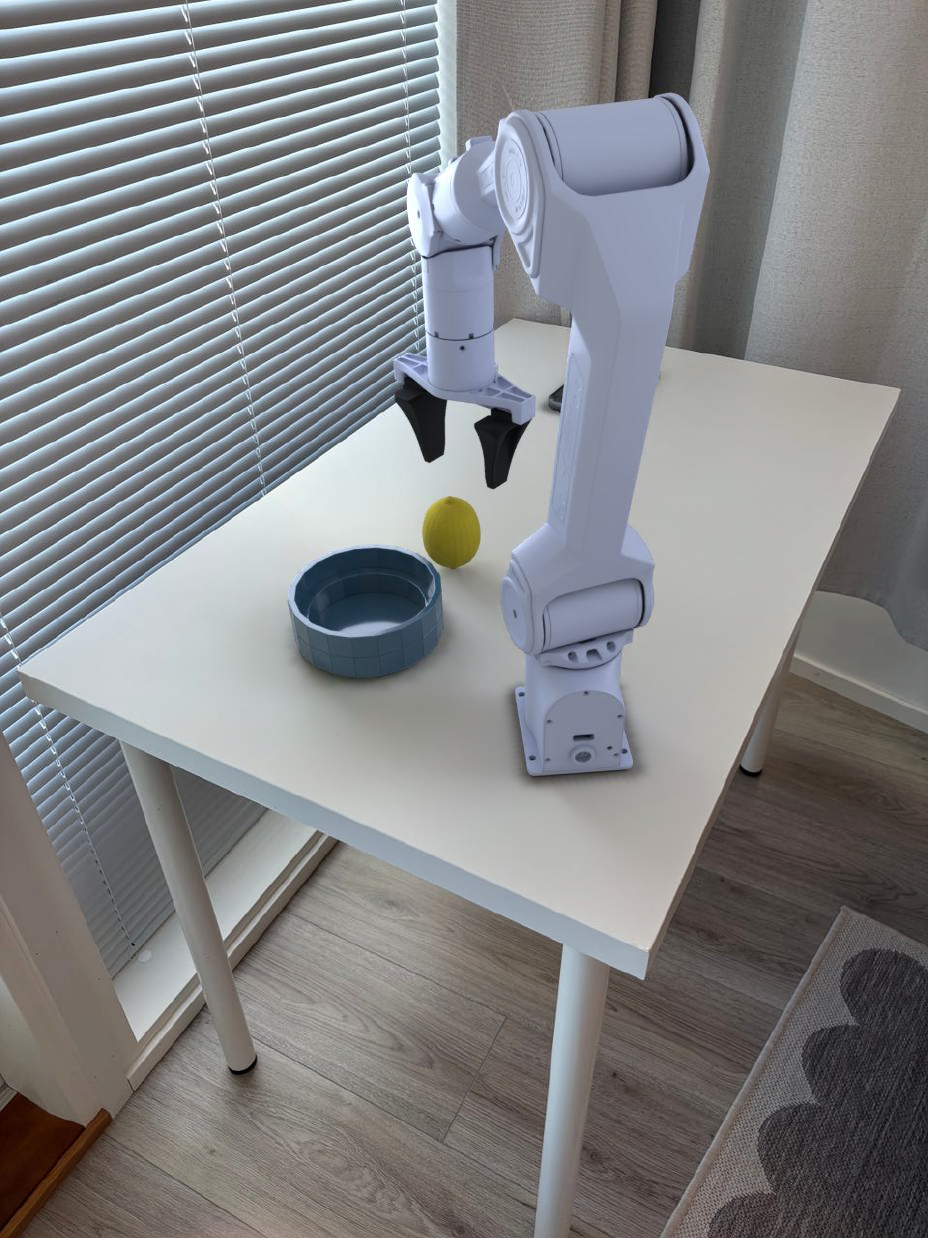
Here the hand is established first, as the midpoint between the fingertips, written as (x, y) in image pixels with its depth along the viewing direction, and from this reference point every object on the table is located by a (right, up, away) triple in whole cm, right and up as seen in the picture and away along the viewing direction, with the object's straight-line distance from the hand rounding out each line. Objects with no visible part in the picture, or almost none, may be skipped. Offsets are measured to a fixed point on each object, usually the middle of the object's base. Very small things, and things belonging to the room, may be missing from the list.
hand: (465, 470), depth 87 cm
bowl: (-9, -15, -2) cm, 17 cm away
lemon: (-1, -9, +5) cm, 10 cm away
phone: (+17, +15, +34) cm, 41 cm away
